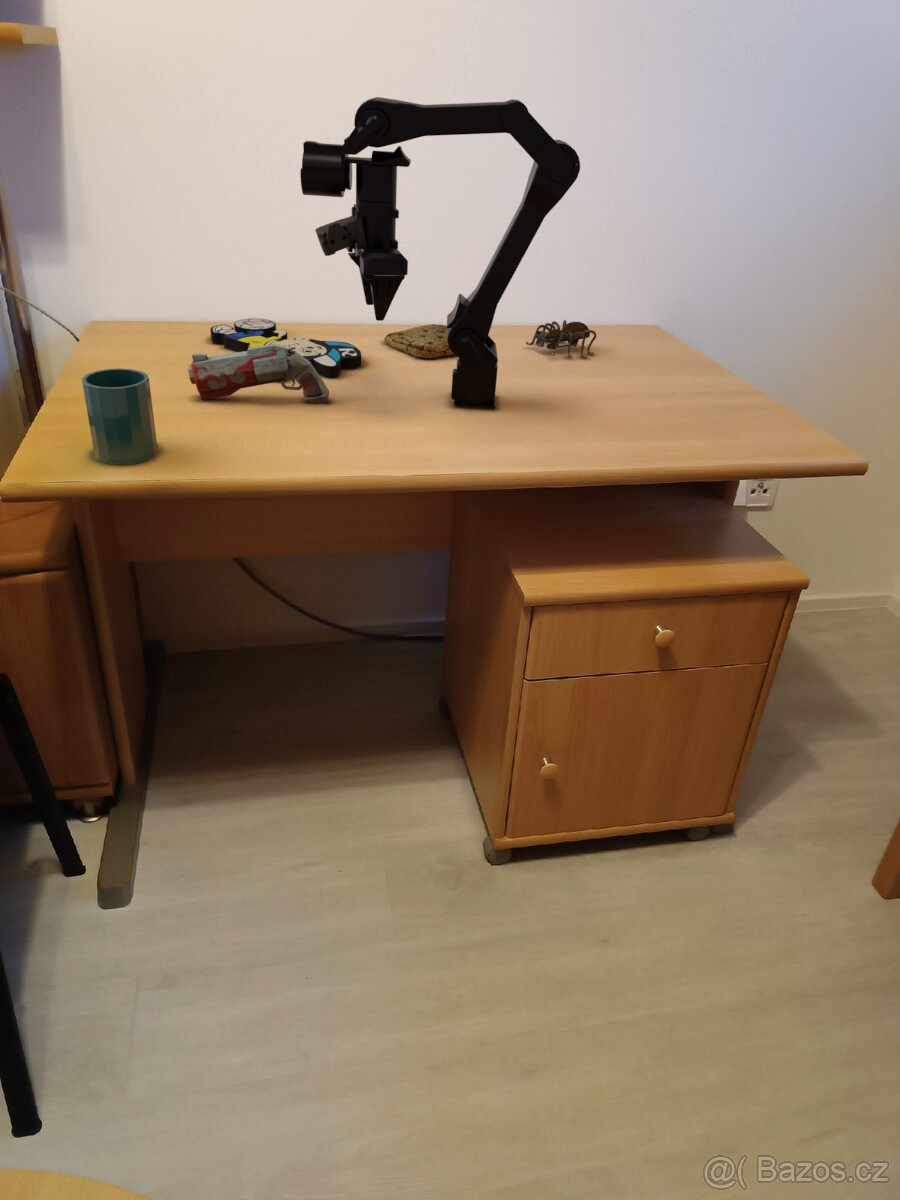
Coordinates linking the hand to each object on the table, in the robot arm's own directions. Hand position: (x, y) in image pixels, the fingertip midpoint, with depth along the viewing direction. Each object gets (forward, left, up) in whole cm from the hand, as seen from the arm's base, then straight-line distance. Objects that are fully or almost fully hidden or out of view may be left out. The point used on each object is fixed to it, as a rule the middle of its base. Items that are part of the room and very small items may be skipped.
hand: (374, 312), depth 132 cm
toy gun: (+17, +5, -13) cm, 22 cm away
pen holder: (+30, +28, -13) cm, 43 cm away
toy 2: (-33, -32, -13) cm, 48 cm away
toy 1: (+18, -19, -13) cm, 29 cm away
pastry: (-8, -29, -13) cm, 33 cm away
